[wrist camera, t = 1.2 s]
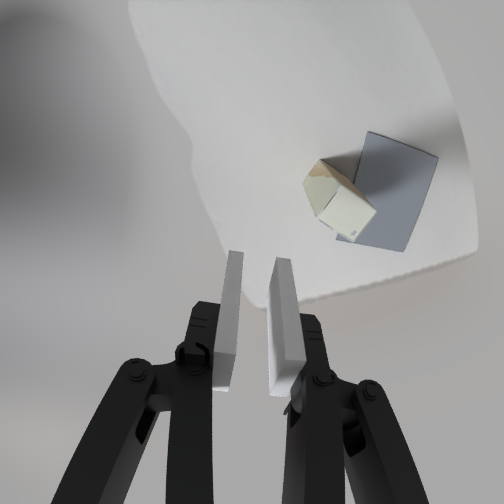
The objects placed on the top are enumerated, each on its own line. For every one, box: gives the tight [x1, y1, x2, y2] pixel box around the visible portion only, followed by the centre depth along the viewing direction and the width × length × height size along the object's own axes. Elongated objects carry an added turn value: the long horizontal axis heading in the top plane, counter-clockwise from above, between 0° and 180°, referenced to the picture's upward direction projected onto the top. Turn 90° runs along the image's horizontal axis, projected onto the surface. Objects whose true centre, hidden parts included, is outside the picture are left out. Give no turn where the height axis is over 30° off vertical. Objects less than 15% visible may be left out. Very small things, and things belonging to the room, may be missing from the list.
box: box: [302, 160, 377, 242], centre depth 30 cm, size 5×4×11 cm
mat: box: [336, 132, 438, 252], centre depth 36 cm, size 16×12×1 cm
